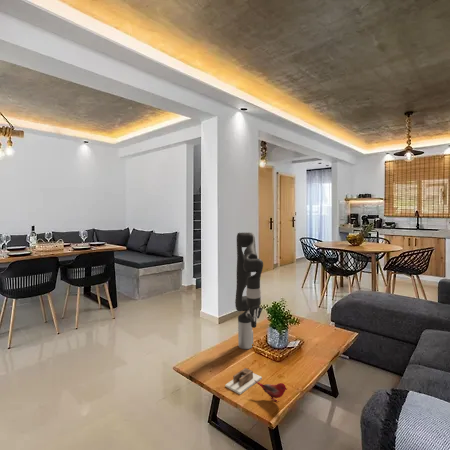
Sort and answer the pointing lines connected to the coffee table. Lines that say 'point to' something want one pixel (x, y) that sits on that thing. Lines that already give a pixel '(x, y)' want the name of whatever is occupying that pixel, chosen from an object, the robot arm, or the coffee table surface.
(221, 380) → the coffee table surface
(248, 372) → the slotted block
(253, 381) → the peg board
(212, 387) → the coffee table surface
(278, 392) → the decorative bird figurine
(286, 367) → the coffee table surface
